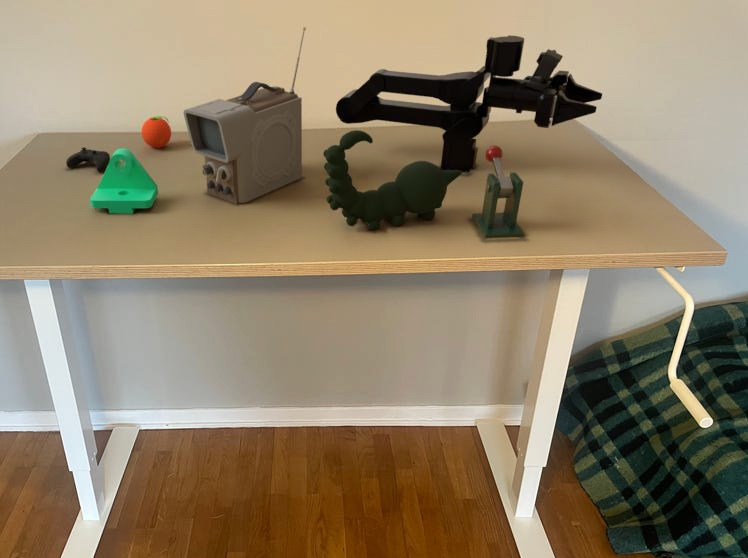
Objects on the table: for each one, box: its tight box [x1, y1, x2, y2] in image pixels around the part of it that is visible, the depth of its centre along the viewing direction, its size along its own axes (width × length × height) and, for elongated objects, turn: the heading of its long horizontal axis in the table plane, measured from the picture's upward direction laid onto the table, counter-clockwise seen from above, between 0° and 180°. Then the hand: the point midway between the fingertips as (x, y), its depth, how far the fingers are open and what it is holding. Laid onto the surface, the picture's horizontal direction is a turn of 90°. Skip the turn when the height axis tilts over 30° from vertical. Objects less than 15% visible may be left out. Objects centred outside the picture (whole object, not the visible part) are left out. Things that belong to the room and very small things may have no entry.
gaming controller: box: [65, 146, 111, 173], centre depth 164 cm, size 10×5×6 cm
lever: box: [485, 145, 513, 199], centre depth 131 cm, size 11×3×3 cm, turn 2°
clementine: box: [141, 115, 172, 149], centre depth 172 cm, size 8×7×7 cm
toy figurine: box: [322, 129, 463, 231], centre depth 132 cm, size 9×19×25 cm
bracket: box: [471, 172, 525, 239], centre depth 131 cm, size 9×7×10 cm
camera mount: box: [89, 147, 159, 214], centre depth 143 cm, size 12×8×10 cm, turn 86°
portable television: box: [183, 26, 307, 205], centre depth 144 cm, size 12×24×30 cm, turn 137°
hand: (599, 102), depth 139 cm, fingers open, 9 cm apart
